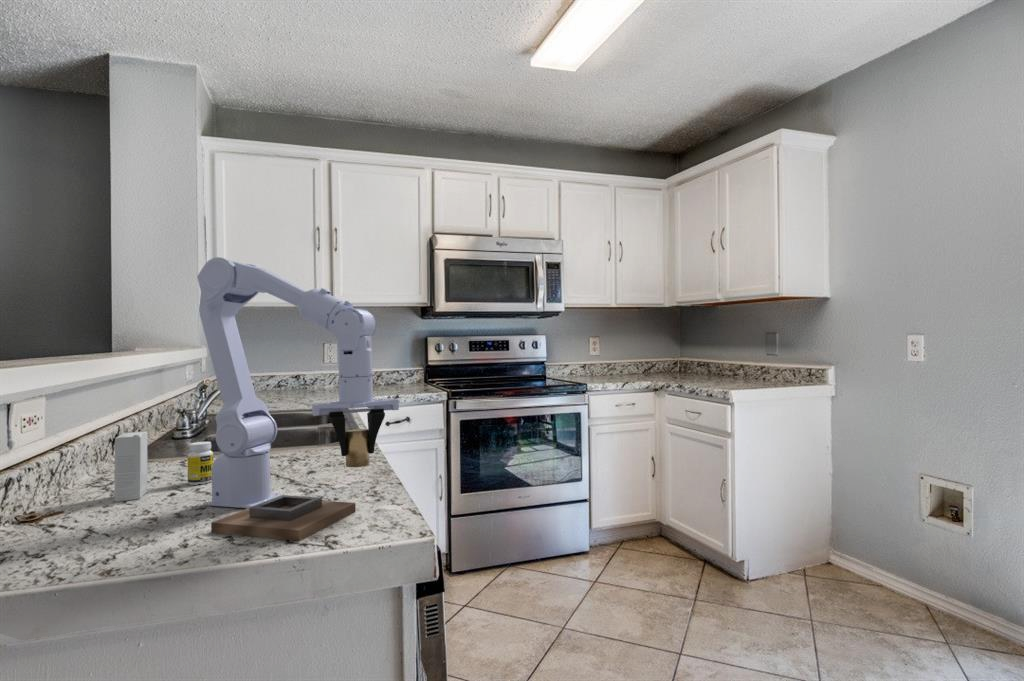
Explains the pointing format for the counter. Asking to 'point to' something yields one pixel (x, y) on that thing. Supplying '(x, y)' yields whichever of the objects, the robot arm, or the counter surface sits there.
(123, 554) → the counter surface
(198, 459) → the supplement bottle
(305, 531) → the jig plate
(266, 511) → the frame
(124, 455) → the skincare box
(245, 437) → the robot arm
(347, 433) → the brass cylinder
